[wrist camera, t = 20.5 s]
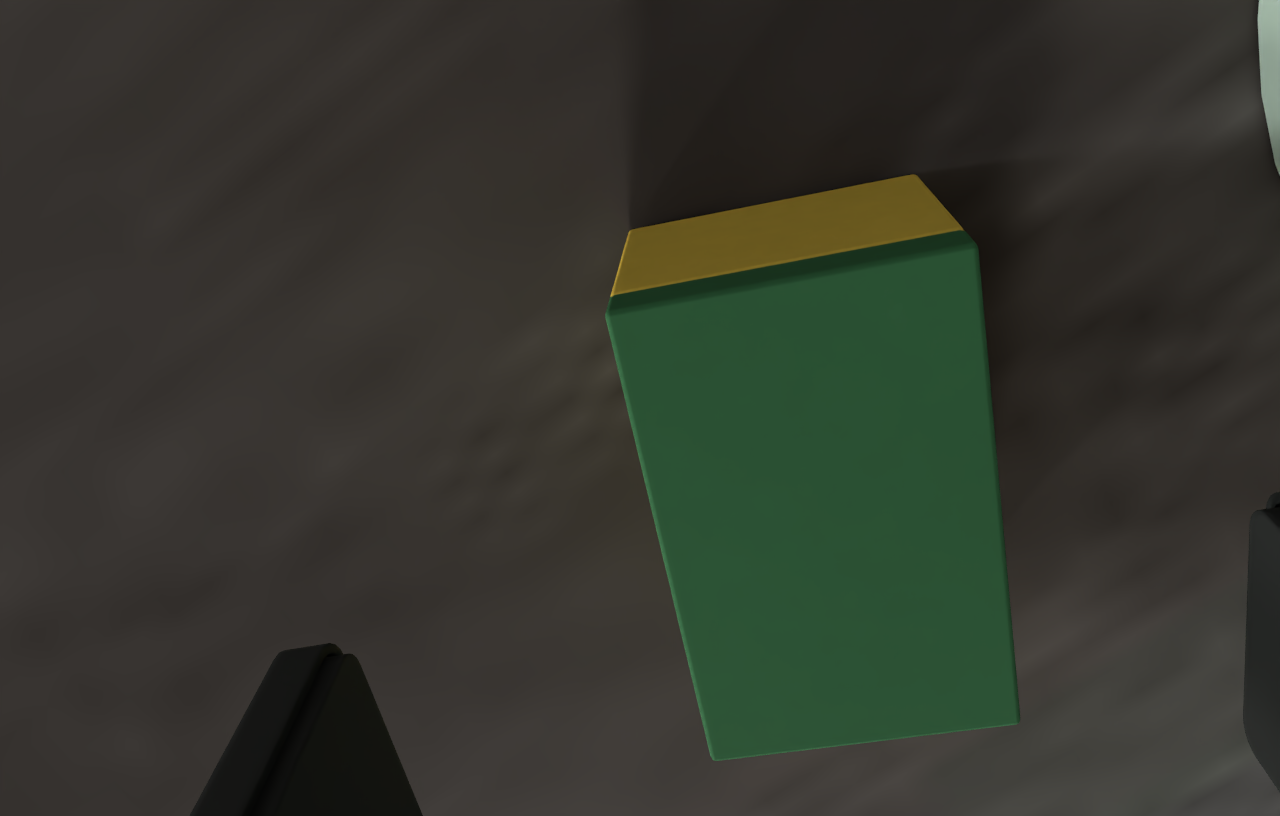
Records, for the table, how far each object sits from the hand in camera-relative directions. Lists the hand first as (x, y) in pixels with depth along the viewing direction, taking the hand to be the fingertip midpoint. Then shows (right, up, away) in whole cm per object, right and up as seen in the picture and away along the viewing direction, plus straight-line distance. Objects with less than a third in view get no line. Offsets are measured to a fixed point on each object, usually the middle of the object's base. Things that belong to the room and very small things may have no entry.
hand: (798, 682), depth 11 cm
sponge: (+1, +3, +9) cm, 9 cm away
